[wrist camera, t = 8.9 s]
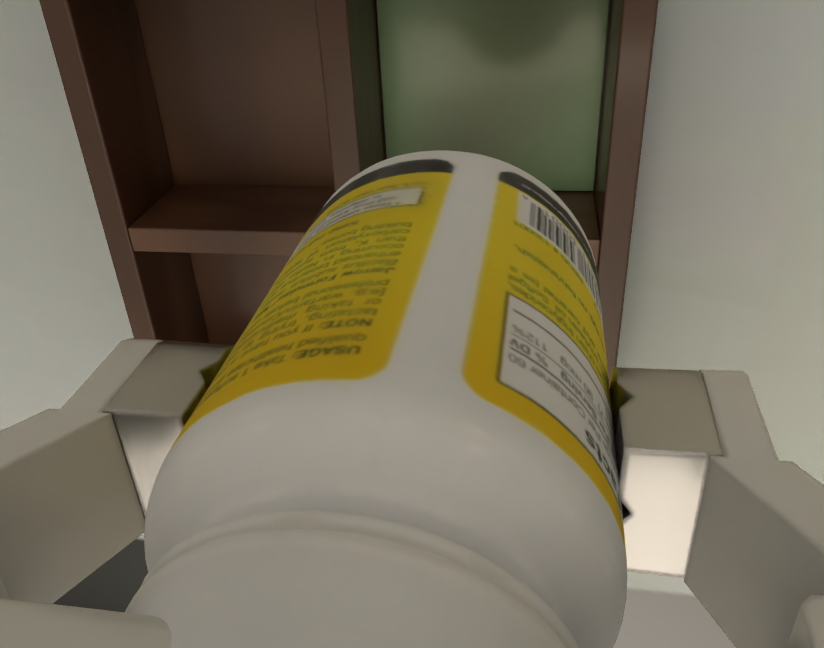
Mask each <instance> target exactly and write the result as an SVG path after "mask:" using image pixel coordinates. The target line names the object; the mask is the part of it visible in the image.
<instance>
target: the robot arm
mask: <svg viewBox="0 0 824 648" xmlns="http://www.w3.org/2000/svg"><path fill="white" fill-rule="evenodd" d="M233 348H234V345H221V344H208V343H194V342H181V341H168V340H165V341H162V340H154V339H134V338H131V339H127V340H123V341H121V342H120V343H119V344H118V345H117V347H116V348H115V349H114V350H113V351H112V352H111V353H110V354H109V356H108V357H107V358H106V359H105V360H104V361H103V362H102V363H101V364H100V366H99V367H98V368H97V369H96V370H95V371H94V372H93V373H92V375H91V376H90V377H89V378H88V379H87V380H86V381H85V382H84V384H83V385H82V386H81V387H80V388H79V389H78V390H77V391H76V393H75V394H74V395H73V396H72V397H71V398H70V399H69V400H68V402H67V403H66V404H65V405H64V406H63V407H62V408H61V409H48V410H45V411H43V412H41V413H39V414H37V415H35V416H32V417H30V418H28V419H26V420H24V421H21V422H19V423H17V424H15V425H13V426H11V427H8V428H6V429H4V430H2V431H0V648H171V631H170V629H169V627H168V624H167V623H166V622H165V621H164V620H162V619H161V618H159V617H155V616H149V615H141V614H132V613H123V612H115V611H106V610H98V609H89V608H80V607H71V606H64V605H54V604H52V603H54V602H55V601H56V600H57V599H59V598H60V597H61V596H63V595H64V594H65V593H66V592H68V591H69V590H70V589H72V588H73V587H74V586H75V585H77V584H78V583H79V582H81V581H82V580H83V579H85V578H86V577H87V576H88V575H90V574H91V573H92V572H94V571H95V570H96V569H97V568H99V567H100V566H101V565H102V564H104V563H105V562H106V561H108V560H109V559H110V558H111V557H113V556H114V555H115V554H117V553H118V552H119V551H121V550H122V549H123V548H124V547H126V546H127V545H128V544H130V543H131V542H132V541H134V540H135V539H136V538H137V537H139V536H140V535H141V534H143V533H144V527H145V517H146V511H147V505H148V501H149V498H150V495H151V492H152V489H153V486H154V483H155V480H156V477H157V474H158V472H159V470H160V468H161V465H162V463H163V461H164V459H165V457H166V456H167V454H168V452H169V450H170V449H171V447H172V445H173V443H174V442H175V440H176V439H177V437H178V435H179V434H180V432H181V431H182V429H183V428H184V426H185V424H186V423H187V421H188V420H189V418H190V417H191V415H192V413H193V412H194V410H195V409H196V407H197V405H198V404H199V402H200V401H201V399H202V397H203V396H204V394H205V393H206V391H207V389H208V388H209V386H210V385H211V383H212V381H213V380H214V378H215V377H216V375H217V373H218V372H219V370H220V369H221V367H222V365H223V364H224V362H225V361H226V359H227V357H228V356H229V354H230V352H231V351H232V349H233ZM610 396H611V407H612V418H613V427H614V437H615V452H616V460H617V469H618V478H619V488H620V498H621V507H622V517H623V526H624V535H625V547H626V558H627V571H631V572H639V573H648V574H656V575H664V576H672V577H680V578H685V579H684V582H685V583H686V584H687V586H688V587H689V588H690V589H691V591H692V592H693V593H694V595H695V596H696V597H697V598H698V600H699V601H700V602H701V603H702V605H703V606H704V607H705V609H706V610H707V611H708V612H709V614H710V615H711V616H712V617H713V619H714V620H715V621H716V623H717V624H718V625H719V626H720V628H721V629H722V630H723V632H724V633H725V634H726V635H727V637H728V638H729V639H730V640H731V642H732V643H733V644H734V646H735V647H736V648H824V485H823V484H821V483H820V482H819V481H817V480H816V479H815V478H813V477H812V476H811V475H809V474H808V473H807V472H805V471H804V470H802V469H801V468H800V467H798V466H797V465H796V464H794V463H793V462H788V461H778V458H777V455H776V452H775V450H774V447H773V444H772V441H771V438H770V436H769V433H768V430H767V427H766V425H765V422H764V419H763V416H762V413H761V411H760V408H759V405H758V402H757V400H756V397H755V394H754V391H753V388H752V386H751V383H750V380H749V377H748V375H747V374H745V373H744V372H743V371H727V370H698V371H696V370H670V369H644V368H618V367H613V370H612V375H611V381H610Z"/></svg>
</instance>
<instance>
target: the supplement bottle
mask: <svg viewBox="0 0 824 648" xmlns="http://www.w3.org/2000/svg"><path fill="white" fill-rule="evenodd" d="M144 543H145V559H146V563H147V568H148V572H149V573H148V574H147V576H146V577H145V579H144V581H143V583H142V585H141V587H140V589H139V591H138V592H137V593H136V594H135V595H134V597H133V599H132V601H131V602H130V604H129V606H128V608H127V609H126V611H125V613H132V614H141V615H149V616H155V617H159V618H161V619H162V620H164V621H165V622H166V623H167V624H168V627H169V629H170V631H171V648H613V646H614V644H615V642H616V639H617V636H618V633H619V630H620V627H621V624H622V620H623V615H624V608H625V602H626V589H627V558H626V547H625V535H624V526H623V517H622V507H621V498H620V488H619V478H618V469H617V460H616V452H615V437H614V427H613V418H612V407H611V396H610V387H609V377H608V368H607V357H606V347H605V340H604V330H603V321H602V311H601V303H600V287H599V280H598V274H597V269H596V264H595V259H594V256H593V252H592V249H591V247H590V244H589V242H588V240H587V237H586V235H585V233H584V231H583V229H582V227H581V226H580V224H579V222H578V221H577V219H576V218H575V216H574V215H573V214H572V212H571V211H570V210H569V208H568V207H567V206H566V205H565V204H564V202H563V201H562V200H561V199H560V198H559V197H558V196H557V195H556V194H555V193H554V192H553V191H552V190H551V189H550V188H548V187H547V186H546V185H544V184H543V183H542V182H540V181H539V180H537V179H536V178H535V177H533V176H532V175H530V174H528V173H526V172H525V171H523V170H521V169H519V168H517V167H515V166H513V165H511V164H509V163H506V162H504V161H501V160H498V159H495V158H492V157H488V156H484V155H480V154H475V153H469V152H460V151H446V150H435V151H422V152H414V153H409V154H403V155H399V156H395V157H392V158H389V159H386V160H384V161H381V162H379V163H376V164H374V165H372V166H370V167H369V168H367V169H365V170H363V171H362V172H360V173H359V174H357V175H355V176H354V177H352V178H351V179H350V180H349V181H347V182H346V183H345V184H344V185H343V186H341V187H340V188H339V189H338V190H337V191H336V192H335V193H334V194H333V195H332V196H331V198H330V199H329V200H328V201H327V203H326V204H325V205H324V206H323V208H322V209H321V211H320V212H319V213H318V215H317V216H316V218H315V219H314V221H313V222H312V224H311V225H310V227H309V228H308V230H307V232H306V233H305V235H304V236H303V238H302V239H301V241H300V243H299V244H298V246H297V248H296V249H295V251H294V252H293V254H292V256H291V257H290V259H289V260H288V262H287V264H286V265H285V267H284V268H283V270H282V271H281V273H280V274H279V276H278V278H277V279H276V281H275V282H274V284H273V286H272V287H271V289H270V291H269V292H268V294H267V295H266V297H265V298H264V300H263V302H262V303H261V305H260V306H259V308H258V310H257V311H256V313H255V314H254V316H253V318H252V319H251V321H250V322H249V324H248V326H247V327H246V329H245V330H244V332H243V334H242V335H241V337H240V338H239V340H238V341H237V343H236V344H235V346H234V348H233V349H232V351H231V352H230V354H229V356H228V357H227V359H226V361H225V362H224V364H223V365H222V367H221V369H220V370H219V372H218V373H217V375H216V377H215V378H214V380H213V381H212V383H211V385H210V386H209V388H208V389H207V391H206V393H205V394H204V396H203V397H202V399H201V401H200V402H199V404H198V405H197V407H196V409H195V410H194V412H193V413H192V415H191V417H190V418H189V420H188V421H187V423H186V424H185V426H184V428H183V429H182V431H181V432H180V434H179V435H178V437H177V439H176V440H175V442H174V443H173V445H172V447H171V449H170V450H169V452H168V454H167V456H166V457H165V459H164V461H163V463H162V465H161V468H160V470H159V472H158V474H157V477H156V480H155V483H154V486H153V489H152V492H151V495H150V498H149V501H148V505H147V511H146V517H145V527H144Z"/></svg>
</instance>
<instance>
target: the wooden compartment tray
mask: <svg viewBox="0 0 824 648" xmlns="http://www.w3.org/2000/svg"><path fill="white" fill-rule="evenodd" d="M40 4H41V8H42V11H43V15H44V18H45V22H46V25H47V29H48V33H49V36H50V40H51V43H52V47H53V50H54V54H55V57H56V61H57V65H58V68H59V72H60V75H61V79H62V82H63V86H64V90H65V93H66V97H67V100H68V104H69V107H70V111H71V115H72V118H73V122H74V125H75V129H76V132H77V136H78V139H79V143H80V147H81V150H82V154H83V157H84V161H85V164H86V168H87V172H88V175H89V179H90V182H91V186H92V189H93V193H94V197H95V200H96V204H97V207H98V211H99V214H100V218H101V221H102V225H103V229H104V232H105V236H106V239H107V243H108V246H109V250H110V254H111V257H112V261H113V264H114V268H115V271H116V275H117V278H118V282H119V286H120V289H121V293H122V296H123V300H124V303H125V307H126V311H127V314H128V318H129V321H130V325H131V328H132V332H133V336H134V339H154V340H162V341H165V340H168V341H181V342H194V343H208V344H221V345H234V346H235V344H236V343H237V341H238V340H239V338H240V337H241V335H242V334H243V332H244V330H245V329H246V327H247V326H248V324H249V322H250V321H251V319H252V318H253V316H254V314H255V313H256V311H257V310H258V308H259V306H260V305H261V303H262V302H263V300H264V298H265V297H266V295H267V294H268V292H269V291H270V289H271V287H272V286H273V284H274V282H275V281H276V279H277V278H278V276H279V274H280V273H281V271H282V270H283V268H284V267H285V265H286V264H287V262H288V260H289V259H290V257H291V256H292V254H293V252H294V251H295V249H296V248H297V246H298V244H299V243H300V241H301V239H302V238H303V236H304V235H305V233H306V232H307V230H308V228H309V227H310V225H311V224H312V222H313V221H314V219H315V218H316V216H317V215H318V213H319V212H320V211H321V209H322V208H323V206H324V205H325V204H326V203H327V201H328V200H329V199H330V198H331V196H332V195H333V194H334V193H335V192H336V191H337V190H338V189H339V188H340V187H341V186H343V185H344V184H345V183H346V182H347V181H349V180H350V179H351V178H352V177H354V176H355V175H357V174H359V173H360V172H362V171H363V170H365V169H367V168H369V167H370V166H372V165H374V164H376V163H379V162H381V161H384V160H386V159H389V158H392V157H395V156H399V155H403V154H409V153H414V152H422V151H435V150H446V151H460V152H469V153H475V154H480V155H484V156H488V157H492V158H495V159H498V160H501V161H504V162H506V163H509V164H511V165H513V166H515V167H517V168H519V169H521V170H523V171H525V172H526V173H528V174H530V175H532V176H533V177H535V178H536V179H537V180H539V181H540V182H542V183H543V184H544V185H546V186H547V187H548V188H550V189H551V190H552V191H553V192H554V193H555V194H556V195H557V196H558V197H559V198H560V199H561V200H562V201H563V202H564V204H565V205H566V206H567V207H568V208H569V210H570V211H571V212H572V214H573V215H574V216H575V218H576V219H577V221H578V222H579V224H580V226H581V227H582V229H583V231H584V233H585V235H586V237H587V240H588V242H589V244H590V247H591V249H592V252H593V256H594V259H595V264H596V269H597V274H598V280H599V287H600V303H601V311H602V321H603V330H604V340H605V347H606V357H607V368H608V377H609V387H610V381H611V375H612V370H613V367H616V363H617V354H618V345H619V337H620V328H621V320H622V311H623V302H624V294H625V285H626V276H627V268H628V259H629V250H630V242H631V233H632V225H633V216H634V207H635V199H636V190H637V181H638V173H639V164H640V155H641V147H642V138H643V130H644V121H645V112H646V104H647V95H648V86H649V78H650V69H651V60H652V52H653V43H654V35H655V26H656V17H657V9H658V0H40Z"/></svg>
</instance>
